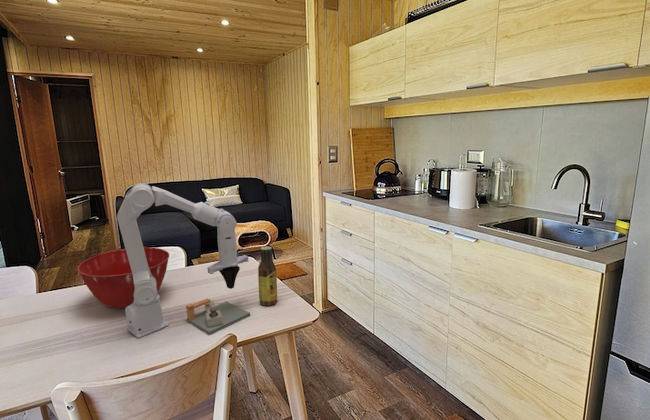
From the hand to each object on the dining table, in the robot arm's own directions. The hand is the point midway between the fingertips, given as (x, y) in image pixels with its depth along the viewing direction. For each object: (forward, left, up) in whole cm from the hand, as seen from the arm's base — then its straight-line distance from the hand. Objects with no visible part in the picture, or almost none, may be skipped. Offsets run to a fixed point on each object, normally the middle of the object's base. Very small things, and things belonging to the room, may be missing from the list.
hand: (230, 287), depth 123 cm
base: (-7, -2, -8) cm, 10 cm away
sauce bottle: (+11, -6, -8) cm, 15 cm away
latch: (-8, -2, -7) cm, 11 cm away
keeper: (-10, +3, -8) cm, 13 cm away
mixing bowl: (-19, +34, -8) cm, 40 cm away
